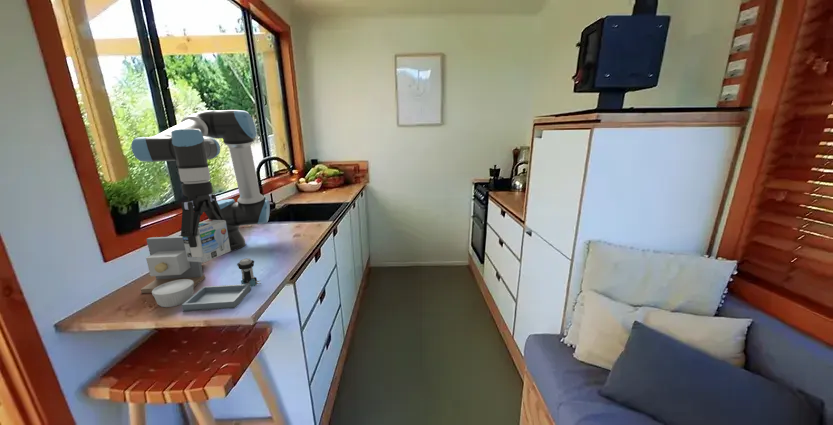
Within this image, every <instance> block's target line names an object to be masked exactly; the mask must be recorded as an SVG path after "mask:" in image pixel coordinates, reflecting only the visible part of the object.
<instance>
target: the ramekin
mask: <svg viewBox="0 0 833 425" xmlns="http://www.w3.org/2000/svg"><path fill="white" fill-rule="evenodd" d="M193 285H194V282H193V281H192V280H190V279H181V280H175V281H171V282H167V283H164V284H162V285H160V286H158V287H156V288H154V289H153V290H152V293H151V294H152V297H154V300H155V302H156V304H157V305H158V306H159V307H162V308H173V307H176V306H180V305H182V304H183V303H184V302H186V301H187V300H188V299H189V298H191V297H192V296H193V295H194V294H195V293H194V287H193Z"/></svg>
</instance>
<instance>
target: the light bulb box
mask: <svg viewBox="0 0 833 425" xmlns="http://www.w3.org/2000/svg"><path fill="white" fill-rule="evenodd" d="M197 235H199V238H200V243H201V248H202V253H203V256H202V257H192V255H191V250H190V246H189V241H188V238H187V237H183V241H184V245H185V250H186V255H187V260H188V261H193V262H203V263H206V262H209V261H211V260H214V259H215V258H218V257H220V256H222V255H224V254H227V253H230V252H232V251H231V250H230V244H229V237H228V231H227V225H226V221H225V220H210V219H209V218H208V219H206V220H204V221H199V226H198V231H197Z"/></svg>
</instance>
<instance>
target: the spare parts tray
mask: <svg viewBox="0 0 833 425" xmlns="http://www.w3.org/2000/svg"><path fill="white" fill-rule="evenodd" d="M251 291H252V287H251V286H250V284H225V285H223V284H222V285H209V286H206V285H205V286H202V287H201V288H200V289H198V291H197V292H195V293H194V294H193V296H192V297H191V298H189V299H188V300H187V301H186V302H184V303H183V304H181V308H182V312H185V313H186V312H198V311H199V312H200V311H215V310H216V311H217V310H218V311H219V310H233V309H236V308H237V307H238V306H239V305H240V304H241V302H242V301H243V300H244V299H245V298H246V296H248V295H249V293H250V292H251Z"/></svg>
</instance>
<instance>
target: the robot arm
mask: <svg viewBox="0 0 833 425" xmlns="http://www.w3.org/2000/svg"><path fill="white" fill-rule="evenodd" d="M256 129H257V128H256V124H255V122H254V119H253V118H252V116H251V114H250V113H249V112H248V111H246V110H239V109H227V110H226V109H225V110H222V109H221V110H220V109H219V110H216V109H215V110H211V109H209V110H208V109H207V110H203V111H199V112H195V113H192V114H190V115H188V116H186V117H184V118H183V119H182V120H181V121H180V123H178V124H176V125H173V126H172V127H169V128H167V129H166V130H163V131H162V132H160V133H157V134H156V135H153V136H139V137H135V138H134V139H133V140H132V142H131V145H130V146H131V147H130V148H131V151H132V153H133V156H134V157H135V158H136V159H137V160H138V161H140V162H146V163H147V162H148V163H149V162H150V163H151V162H152V163H154V162H172V161H173V162H175V161H176V164H177V169H178V175H179V180H180V182H181V185H180V186H181V188H182V194H183V196H185V197H187V198H188V200H187V201H185V202H183V201H182V202H181V203H180V204H181V209H182V211H181V228H180V235H181V236H182V237H187V238H188V241H189V246H190V250H191V255H192V257H202V256H203V253H202V248H201V243H200V238H199V235H197V231H198V226H199V223H200V222H201V221H200V220H201V217H202V216H203V214H205V215H206V216H207V218H208V220H209V219H210V220H225V221H226V225H227V231H228V237H229V244H230V250H231V251H230V252H232V251H233V252H234V251H236V250H238V249H242V248H243V247H245V246H246V240H245V238H244V236H243V234H242V232H241V231H240V227H242V226H255V225H263V224H264V225H265V224H266V223H267V224H268V221H269V218H270V213H271V212H270V210H271V209H270V208H271V207H270V200H268V199H265V196H264V195H263V194H261V193H260V186H259V182H258V177H257V173H256V172H257V171H256V165H255V161H254V156H253V150H252V146H251V145H252V144H253V143H254V139H255V138H256V137H257V132H256ZM216 139H218V140H219V139H222V140H223V144H224V145H225V146H227V147H228V150H229V153H230V158H231V162H232V166H233V169H234V170H233V171H234V174H235V175H234V176H235V179H236V184H237V189H238V193H239V197H238V198H237V201H235V199H233V198H229V199H222V200H217V195H216V194H213V193H214V190H213V185H212V182H211V181H210V180H211V179H212V178H211V173H210V168H209V164H208V160H213V159H215V158H216V157H218V156H219V155H220V152H221V146H220V143H219V142H218V141H217V140H216Z"/></svg>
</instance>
